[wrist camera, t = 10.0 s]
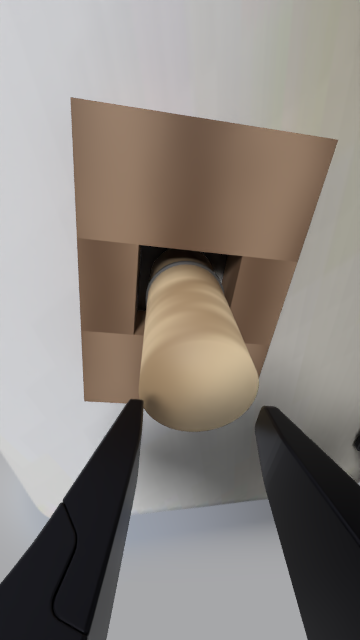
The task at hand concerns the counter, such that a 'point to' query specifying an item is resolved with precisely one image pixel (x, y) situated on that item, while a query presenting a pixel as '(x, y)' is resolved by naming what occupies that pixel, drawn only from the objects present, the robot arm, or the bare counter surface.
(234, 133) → the walnut board
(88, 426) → the counter surface
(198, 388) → the oak peg
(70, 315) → the counter surface
